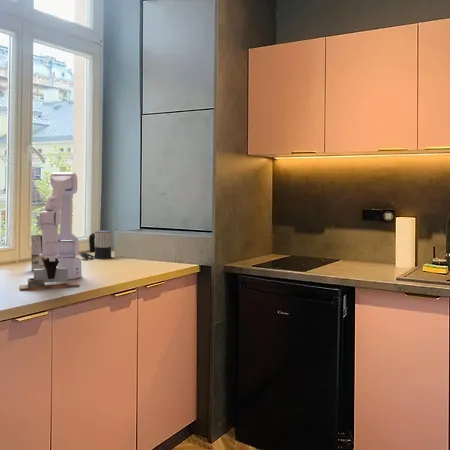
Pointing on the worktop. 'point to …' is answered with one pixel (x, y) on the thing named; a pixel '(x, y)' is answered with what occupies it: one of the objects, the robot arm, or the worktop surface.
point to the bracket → (46, 285)
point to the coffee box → (37, 252)
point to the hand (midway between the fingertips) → (50, 278)
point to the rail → (60, 275)
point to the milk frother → (99, 245)
